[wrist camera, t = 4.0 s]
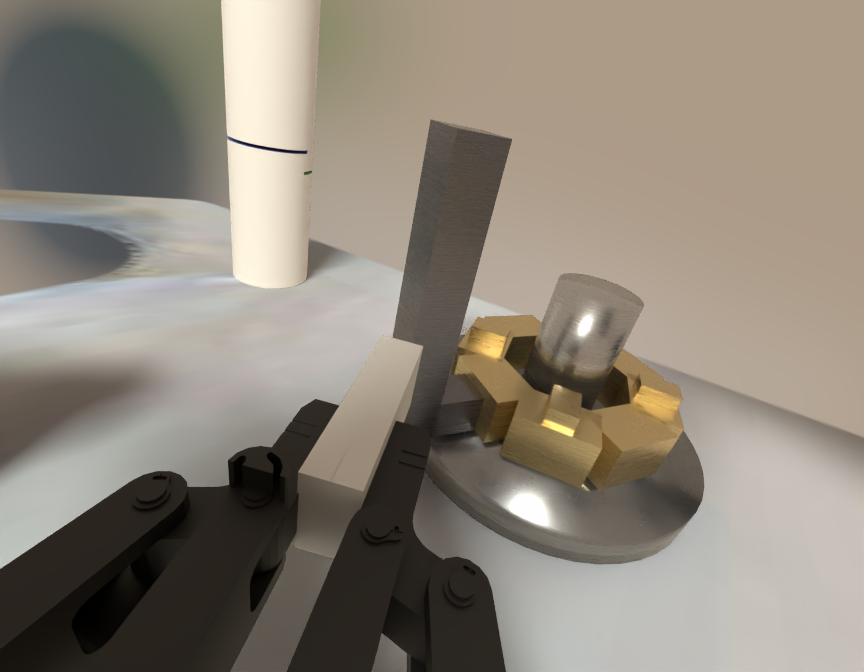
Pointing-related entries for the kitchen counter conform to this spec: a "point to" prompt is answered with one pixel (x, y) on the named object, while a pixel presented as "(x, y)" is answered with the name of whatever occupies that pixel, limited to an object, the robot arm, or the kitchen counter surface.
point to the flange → (587, 506)
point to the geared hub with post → (509, 341)
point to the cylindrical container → (270, 135)
